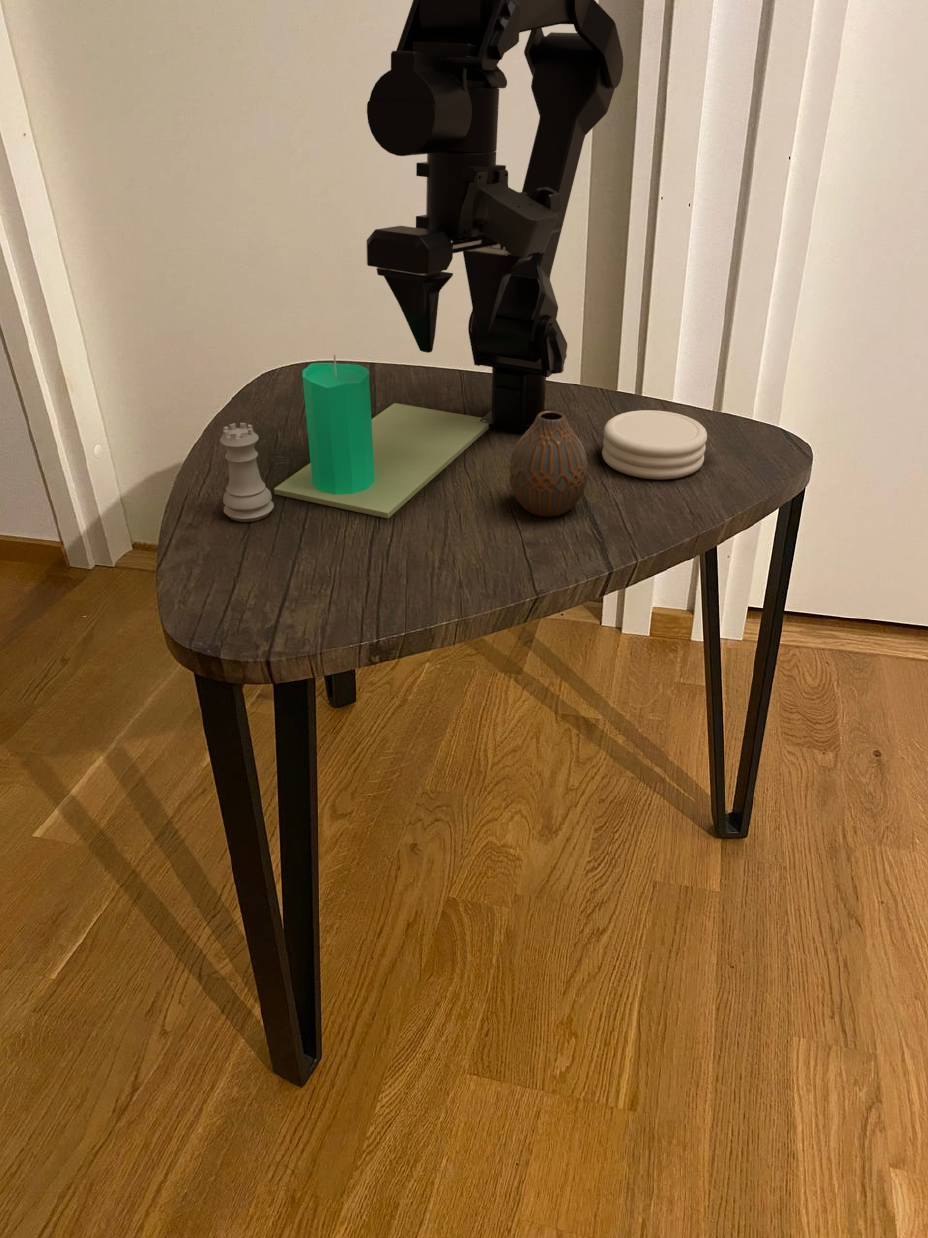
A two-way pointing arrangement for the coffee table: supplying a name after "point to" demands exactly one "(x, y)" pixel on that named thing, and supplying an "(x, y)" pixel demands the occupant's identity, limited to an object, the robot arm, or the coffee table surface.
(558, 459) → the vase
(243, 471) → the rook chess piece
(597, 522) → the coffee table surface
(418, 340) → the robot arm
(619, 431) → the coaster
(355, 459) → the candle
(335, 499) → the pale green rectangular board
